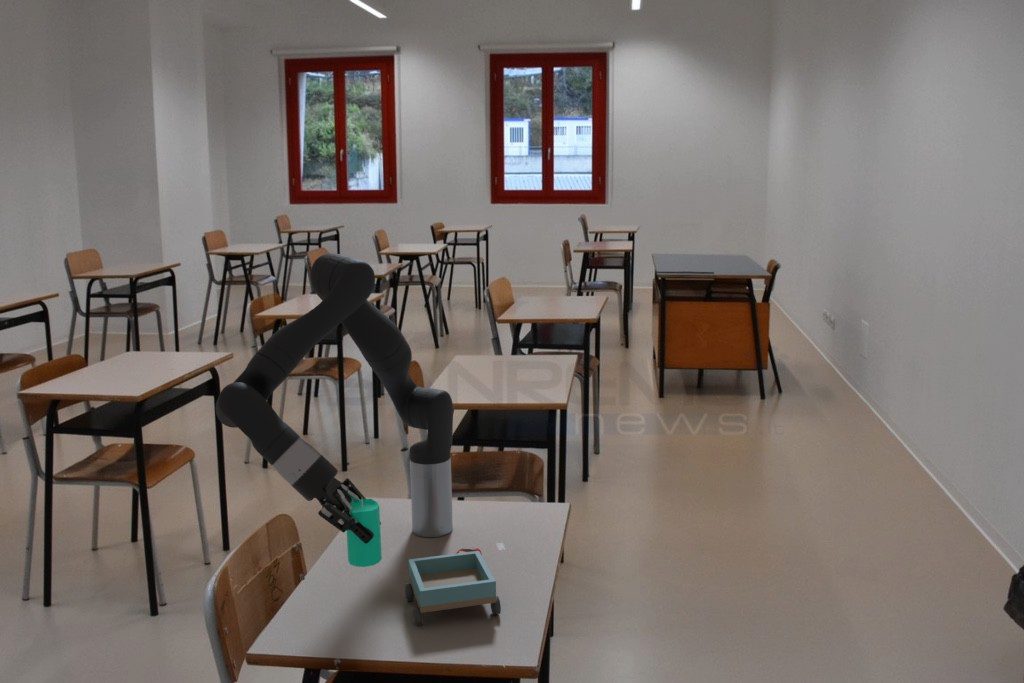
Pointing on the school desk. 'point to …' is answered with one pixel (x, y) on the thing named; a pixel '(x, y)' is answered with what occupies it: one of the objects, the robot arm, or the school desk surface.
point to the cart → (450, 583)
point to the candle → (357, 549)
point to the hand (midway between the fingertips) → (373, 533)
